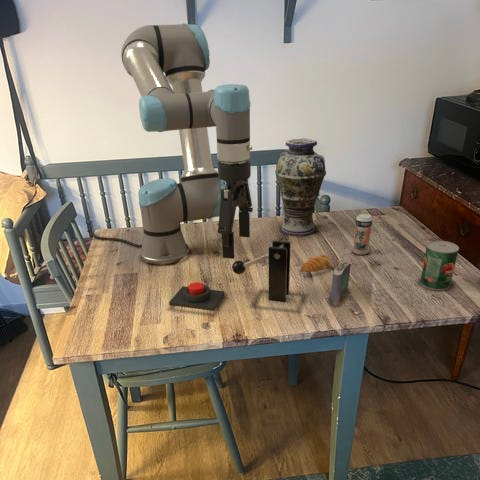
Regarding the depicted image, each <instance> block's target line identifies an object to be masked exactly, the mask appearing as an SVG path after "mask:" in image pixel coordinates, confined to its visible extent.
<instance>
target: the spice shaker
mask: <svg viewBox="0 0 480 480" xmlns="http://www.w3.org/2000/svg"><path fill="white" fill-rule="evenodd" d="M372 226H373V218H372V215H371V214H368V213H359V214H358V215H357V216H356V217H355V226H354V227H355V228H354V236H353V237H354V238H353V246H352V252H353V253H354V254H356V255H358V256H359V255H360V256H363V255H364V256H365V255H366V254H368V253H369V250H370V242H371V235H372V234H371V233H372Z"/></svg>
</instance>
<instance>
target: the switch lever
mask: <svg viewBox="0 0 480 480" xmlns="http://www.w3.org/2000/svg"><path fill="white" fill-rule="evenodd" d="M277 247H281V248H285V246H284V244H282V245H279V246H277ZM266 260H269V252H268V253H266V254H263V255H261V256H258V257H256V258H253V259H250V260H248V261H245V262H244V261H243V260H236V261H234V262H233V263H232V265H231V270H232V272H233V273H234V274H236V275H243V274H244V273H245V272H246V270H247V268H248V267H251V266H253V265H256V264H259V263H260V262H264V261H266Z"/></svg>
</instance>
